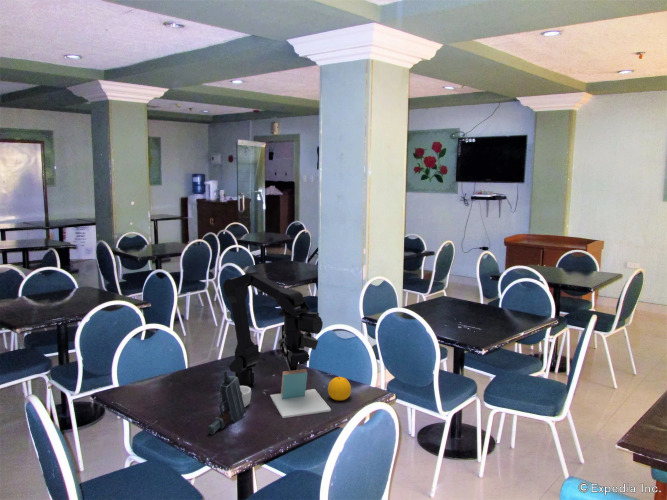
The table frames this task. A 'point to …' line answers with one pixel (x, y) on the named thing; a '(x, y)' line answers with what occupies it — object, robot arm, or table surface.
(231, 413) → the gun
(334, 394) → the orange
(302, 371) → the tile
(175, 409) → the table surface
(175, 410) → the table surface
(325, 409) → the mat
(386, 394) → the table surface
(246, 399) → the teacup
